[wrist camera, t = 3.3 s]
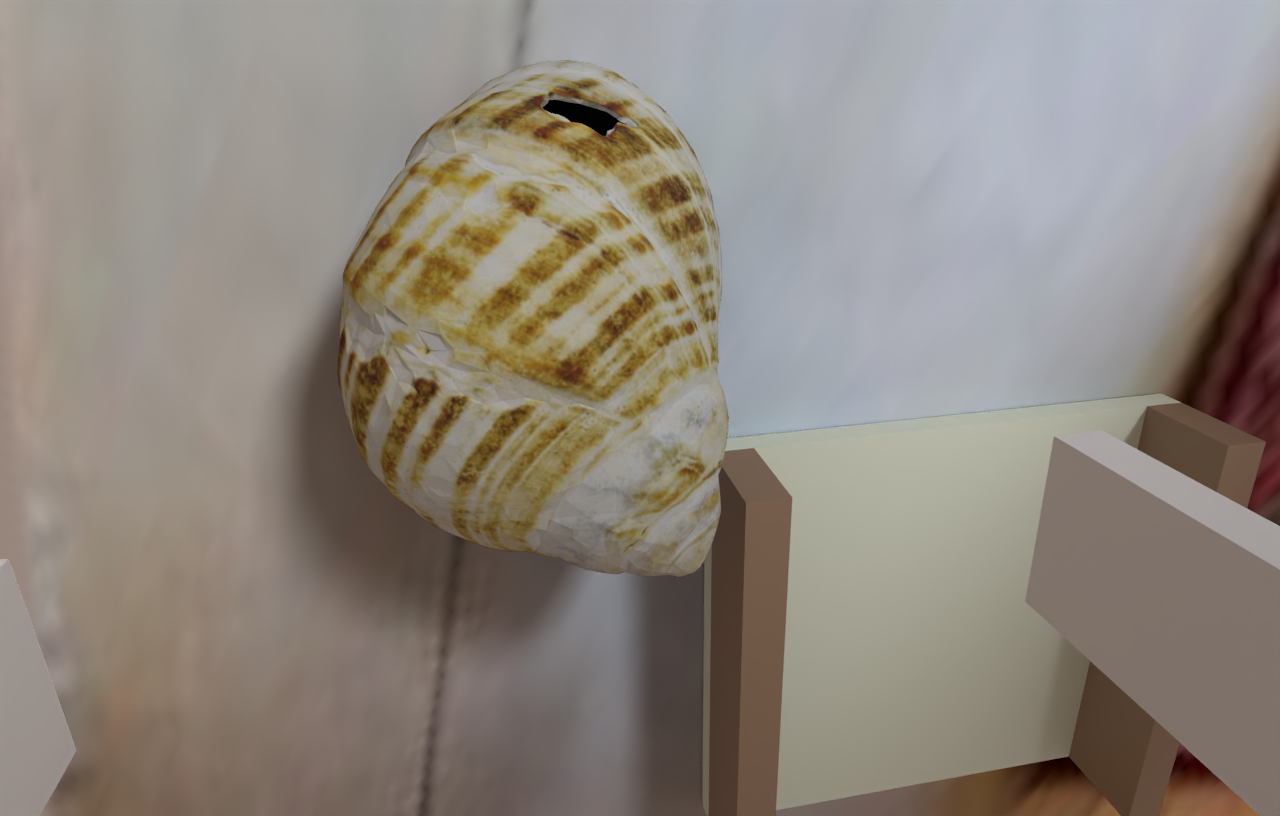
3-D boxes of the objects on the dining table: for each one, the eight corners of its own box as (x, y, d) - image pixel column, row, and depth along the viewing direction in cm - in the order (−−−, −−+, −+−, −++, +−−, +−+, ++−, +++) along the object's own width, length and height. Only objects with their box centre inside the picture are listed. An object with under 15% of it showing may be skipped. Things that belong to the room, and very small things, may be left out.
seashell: (568, -62, 18) (849, 145, 12) (702, 237, 26) (916, 458, 19) (185, 209, 18) (264, 558, 12) (432, 428, 26) (560, 709, 19)
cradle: (705, 441, 24) (746, 502, 21) (1161, 393, 27) (1265, 441, 23) (702, 804, 29) (734, 902, 26) (1082, 735, 32) (1158, 816, 28)
